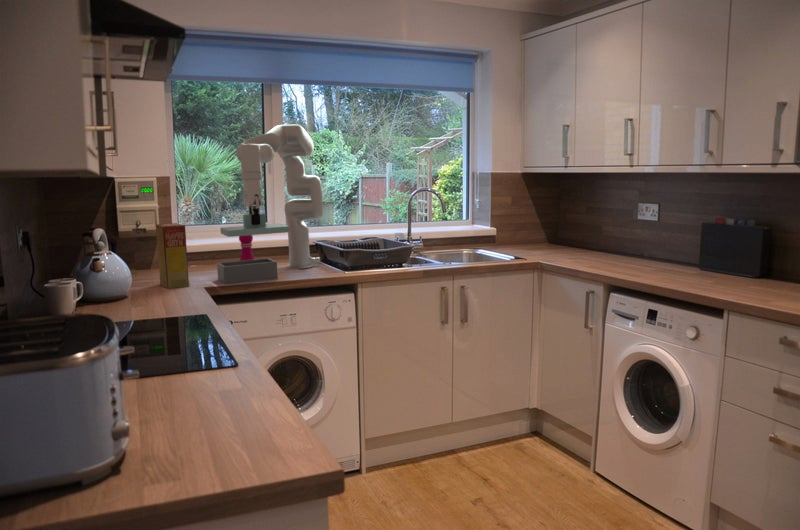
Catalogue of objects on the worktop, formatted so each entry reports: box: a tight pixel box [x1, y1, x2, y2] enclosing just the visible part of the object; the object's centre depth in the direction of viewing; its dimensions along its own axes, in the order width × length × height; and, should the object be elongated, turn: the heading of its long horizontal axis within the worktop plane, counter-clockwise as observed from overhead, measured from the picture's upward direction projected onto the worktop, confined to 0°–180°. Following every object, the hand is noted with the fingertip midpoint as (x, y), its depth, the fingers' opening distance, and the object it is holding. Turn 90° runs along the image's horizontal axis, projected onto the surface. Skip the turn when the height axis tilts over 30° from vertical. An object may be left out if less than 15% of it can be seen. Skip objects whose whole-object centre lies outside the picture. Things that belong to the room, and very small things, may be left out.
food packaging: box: [155, 222, 190, 290], centre depth 261 cm, size 13×9×25 cm
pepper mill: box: [238, 235, 255, 261], centre depth 285 cm, size 7×7×20 cm
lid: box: [220, 212, 290, 238], centre depth 249 cm, size 24×14×7 cm, turn 117°
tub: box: [216, 257, 279, 285], centre depth 268 cm, size 22×12×8 cm, turn 118°
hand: (254, 223), depth 249 cm, fingers closed on lid, 3 cm apart
